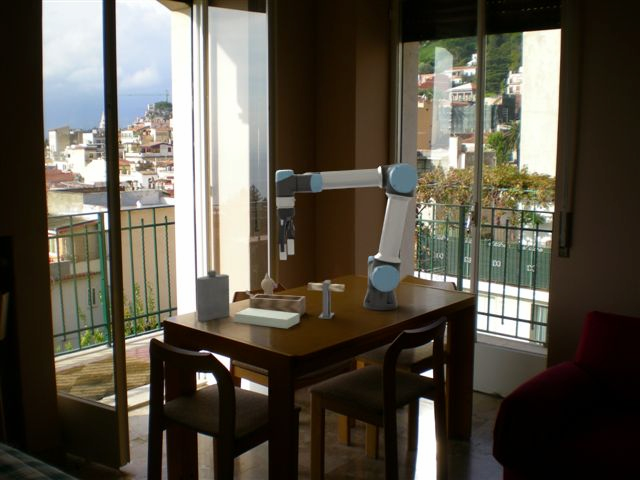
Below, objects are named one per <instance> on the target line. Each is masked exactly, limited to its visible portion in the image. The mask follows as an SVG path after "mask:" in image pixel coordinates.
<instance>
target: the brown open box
mask: <svg viewBox="0 0 640 480" xmlns="http://www.w3.org/2000/svg"><path fill="white" fill-rule="evenodd" d="M253 295H254V296H253V297H251V298H250V297H249V308H255V309H264V310H272V311H281V312H289V313H298V314H299V318H301V317H302V316H303V315H304V314H305V313H306V295H305V296H303V295H301V296H300V295H285V294H284V295H281V294H273V295H269V294H264V293H255V294H253Z"/></svg>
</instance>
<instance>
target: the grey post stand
mask: <svg viewBox="0 0 640 480" xmlns="http://www.w3.org/2000/svg"><path fill="white" fill-rule="evenodd" d="M322 284H323V291H322V312H321V314H320V315H319V316H318V319H329V320H331V319H332V318H333V316H335V312H331V291H328V284H332V283H331V280H330V279H326V280H324V281H323V282H322Z"/></svg>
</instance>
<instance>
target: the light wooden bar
mask: <svg viewBox="0 0 640 480" xmlns="http://www.w3.org/2000/svg"><path fill="white" fill-rule="evenodd" d="M345 287H346V285H345V284H341V283H339V284H338V283H331V284H328V291H330V292H339V293H340V292H344V291H345ZM307 291H322V292H323V282H321V283H319V282H317V283H316V282H308V283H307Z"/></svg>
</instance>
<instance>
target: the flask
mask: <svg viewBox="0 0 640 480" xmlns="http://www.w3.org/2000/svg"><path fill="white" fill-rule="evenodd" d="M196 304H197V305H196V306H197V308H196V310H197V313H196V315H197V317H196V318H197V321H198V322H208V321H211V320H212V321H213V320H216V319H222V318H223V319H224V318H228V317H230V275H228V274H224V273H221V274H217V271H216V270H214V269H211V270H208V271H207V275H204V276H201V277H200V276H199V277H197V278H196Z"/></svg>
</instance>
